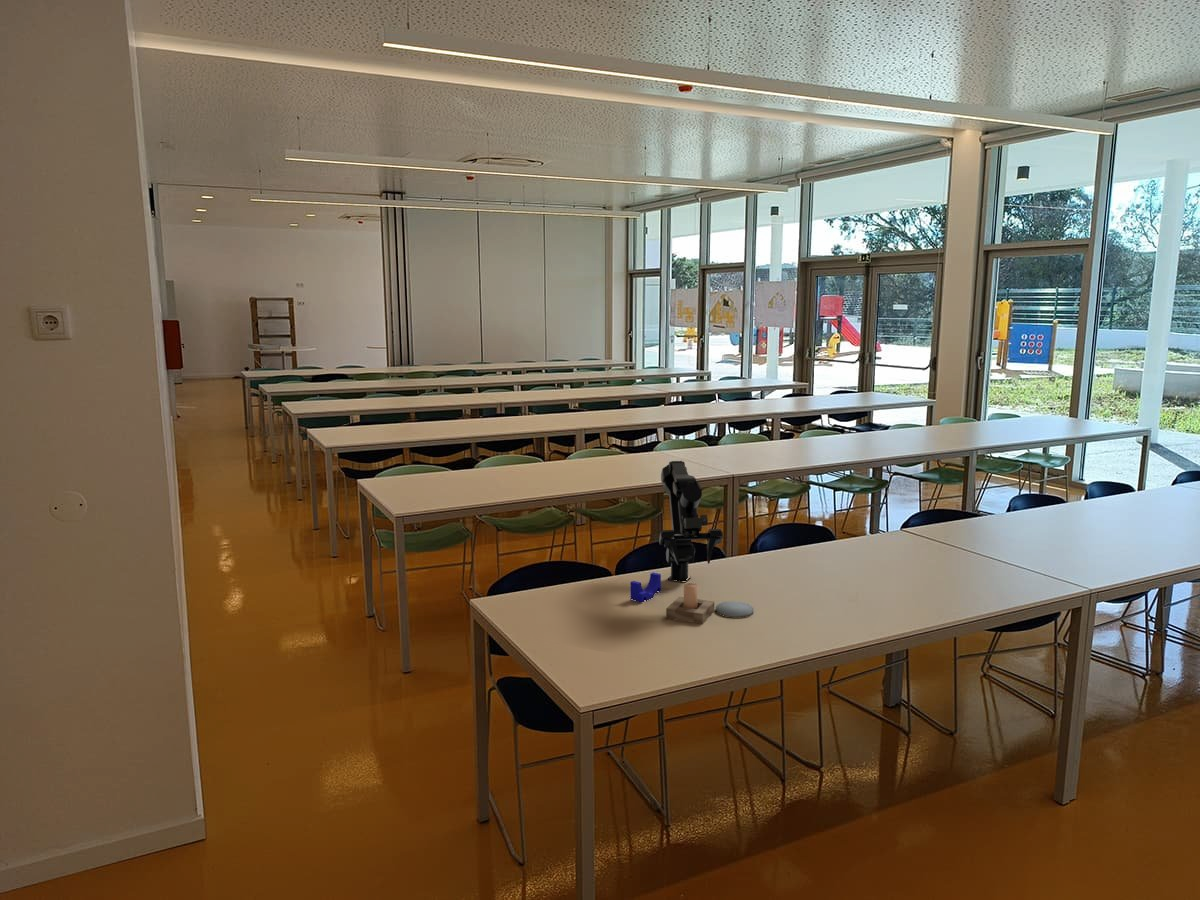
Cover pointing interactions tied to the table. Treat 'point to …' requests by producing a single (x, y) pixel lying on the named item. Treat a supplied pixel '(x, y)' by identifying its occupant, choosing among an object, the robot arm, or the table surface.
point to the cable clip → (649, 591)
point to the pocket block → (690, 611)
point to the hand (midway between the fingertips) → (693, 563)
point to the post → (690, 595)
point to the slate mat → (734, 609)
